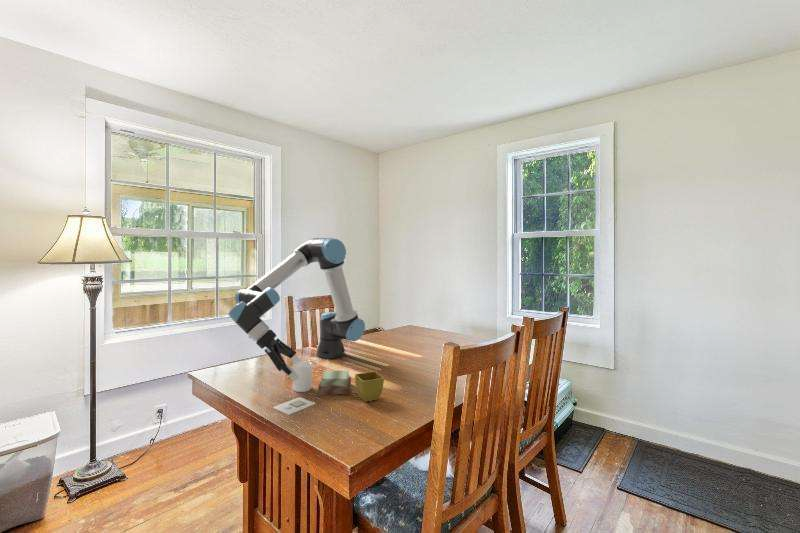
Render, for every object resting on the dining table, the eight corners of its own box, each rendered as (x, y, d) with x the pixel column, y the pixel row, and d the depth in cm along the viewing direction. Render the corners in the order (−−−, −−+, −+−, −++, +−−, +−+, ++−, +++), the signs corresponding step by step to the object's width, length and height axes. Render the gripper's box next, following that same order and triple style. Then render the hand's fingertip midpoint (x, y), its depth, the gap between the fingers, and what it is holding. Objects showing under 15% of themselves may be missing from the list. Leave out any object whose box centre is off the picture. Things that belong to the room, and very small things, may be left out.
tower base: (318, 394, 142) (318, 379, 142) (322, 383, 154) (322, 369, 153) (349, 394, 143) (349, 379, 143) (350, 383, 155) (351, 369, 154)
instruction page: (299, 397, 139) (299, 396, 139) (315, 403, 133) (315, 402, 133) (272, 407, 129) (272, 406, 129) (288, 415, 124) (288, 414, 124)
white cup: (306, 384, 153) (306, 360, 152) (316, 389, 147) (316, 365, 147) (288, 388, 147) (289, 364, 147) (298, 394, 142) (299, 368, 141)
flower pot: (362, 405, 133) (362, 381, 133) (353, 396, 141) (354, 373, 141) (384, 401, 137) (384, 378, 137) (374, 393, 145) (375, 371, 145)
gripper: (264, 334, 157) (299, 369, 159) (244, 350, 132) (286, 391, 134) (277, 322, 157) (312, 357, 159) (260, 335, 132) (301, 377, 134)
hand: (300, 373), depth 146 cm, fingers open, 13 cm apart
